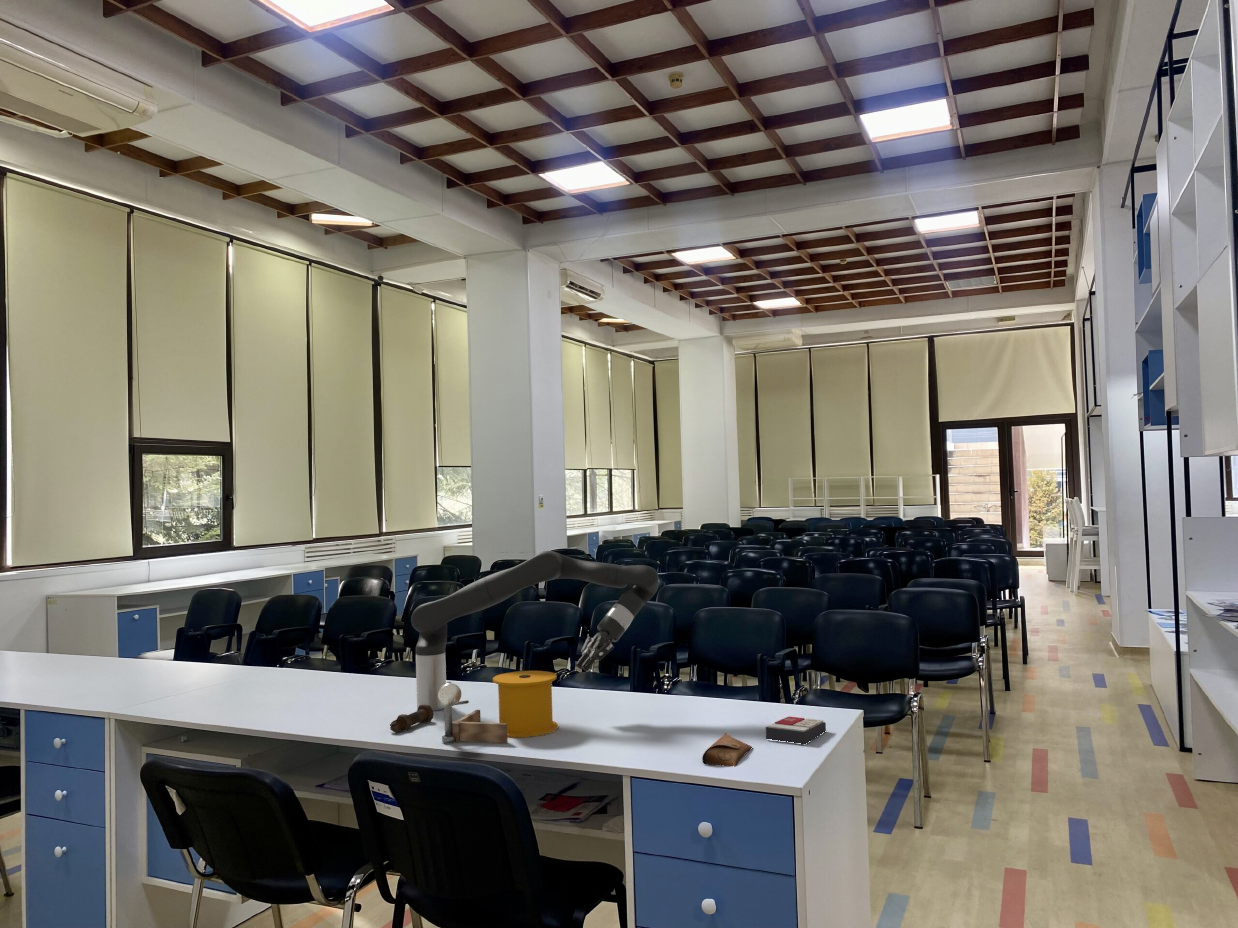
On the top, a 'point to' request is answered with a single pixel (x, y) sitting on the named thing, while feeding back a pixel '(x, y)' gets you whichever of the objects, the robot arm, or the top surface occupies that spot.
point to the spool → (526, 702)
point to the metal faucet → (449, 707)
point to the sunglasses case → (725, 751)
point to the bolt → (412, 718)
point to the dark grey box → (795, 729)
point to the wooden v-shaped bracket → (478, 730)
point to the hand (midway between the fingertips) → (581, 667)
